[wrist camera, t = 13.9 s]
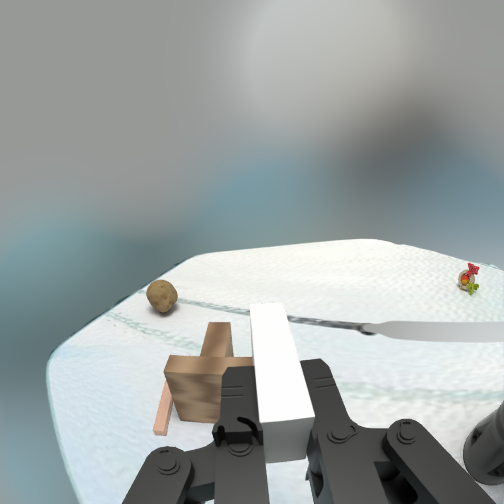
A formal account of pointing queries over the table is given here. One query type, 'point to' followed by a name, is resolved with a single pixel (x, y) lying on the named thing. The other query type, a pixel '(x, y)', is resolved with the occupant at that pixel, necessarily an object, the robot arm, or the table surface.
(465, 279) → the bird rattle
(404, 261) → the table surface
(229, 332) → the tee block
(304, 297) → the table surface
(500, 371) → the table surface
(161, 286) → the brown round lump
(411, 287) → the table surface
